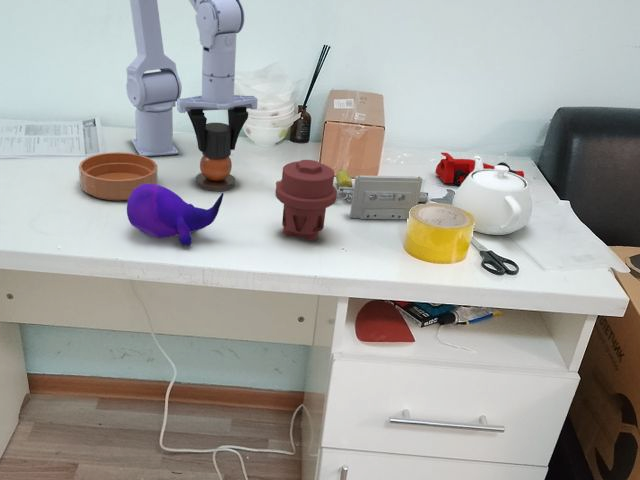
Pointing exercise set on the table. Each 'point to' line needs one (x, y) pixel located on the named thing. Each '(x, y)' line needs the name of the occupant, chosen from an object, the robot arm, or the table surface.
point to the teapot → (495, 199)
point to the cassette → (384, 207)
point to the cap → (217, 140)
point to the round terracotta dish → (116, 174)
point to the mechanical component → (305, 197)
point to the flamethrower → (347, 188)
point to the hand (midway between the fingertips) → (216, 149)
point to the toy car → (461, 169)
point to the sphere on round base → (215, 174)
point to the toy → (167, 213)
